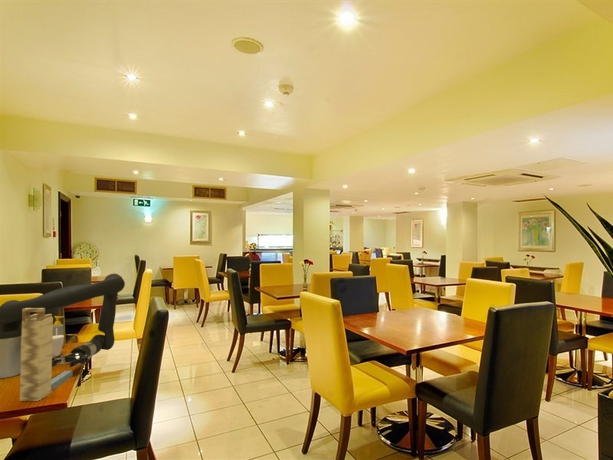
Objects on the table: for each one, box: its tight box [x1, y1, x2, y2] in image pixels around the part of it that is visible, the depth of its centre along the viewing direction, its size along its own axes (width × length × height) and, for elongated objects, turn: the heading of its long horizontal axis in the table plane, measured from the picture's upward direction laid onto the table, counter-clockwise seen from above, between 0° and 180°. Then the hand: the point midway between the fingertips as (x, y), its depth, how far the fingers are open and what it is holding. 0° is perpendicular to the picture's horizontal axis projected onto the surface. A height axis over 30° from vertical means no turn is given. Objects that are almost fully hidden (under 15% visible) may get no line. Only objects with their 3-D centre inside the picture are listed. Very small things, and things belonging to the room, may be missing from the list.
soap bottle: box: [52, 315, 65, 349], centre depth 191 cm, size 7×7×18 cm
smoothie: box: [52, 328, 65, 357], centre depth 180 cm, size 6×6×14 cm
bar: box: [51, 370, 73, 391], centre depth 144 cm, size 3×14×3 cm, turn 6°
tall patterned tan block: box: [19, 308, 54, 402], centre depth 132 cm, size 7×6×35 cm
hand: (60, 365), depth 145 cm, fingers open, 8 cm apart
